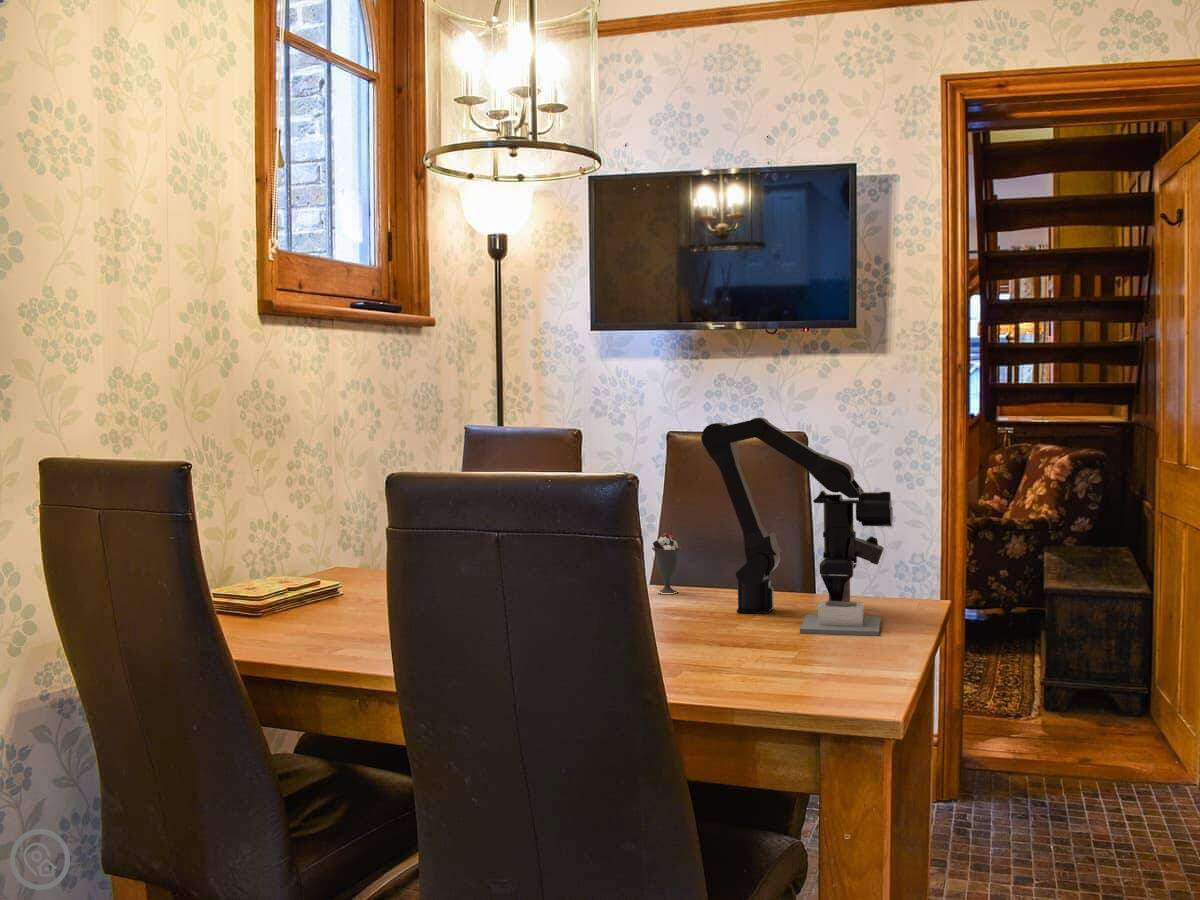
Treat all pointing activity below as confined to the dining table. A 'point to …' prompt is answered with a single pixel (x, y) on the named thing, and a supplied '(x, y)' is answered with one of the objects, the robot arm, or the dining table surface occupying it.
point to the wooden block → (845, 592)
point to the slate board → (841, 627)
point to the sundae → (666, 558)
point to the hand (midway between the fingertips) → (839, 604)
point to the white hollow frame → (841, 613)
